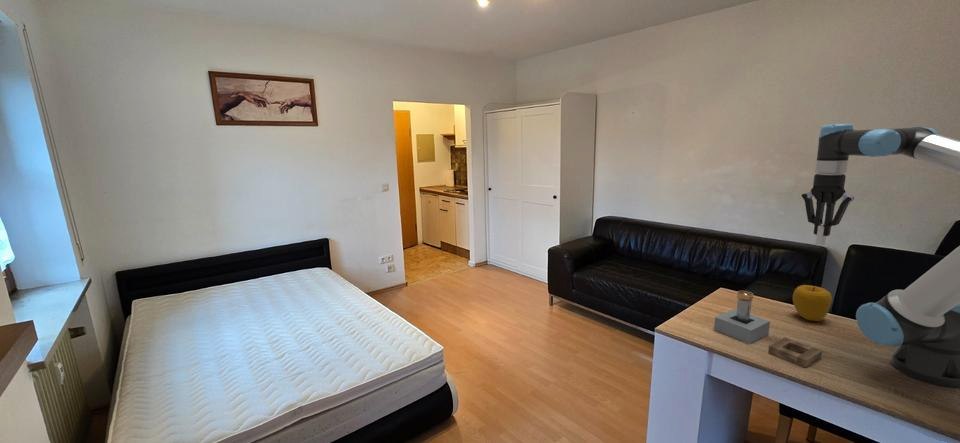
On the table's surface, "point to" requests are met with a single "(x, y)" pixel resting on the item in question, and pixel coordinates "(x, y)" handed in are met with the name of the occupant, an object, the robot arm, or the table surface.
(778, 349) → the mount
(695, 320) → the table surface
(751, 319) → the socket
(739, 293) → the pin
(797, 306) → the apple
